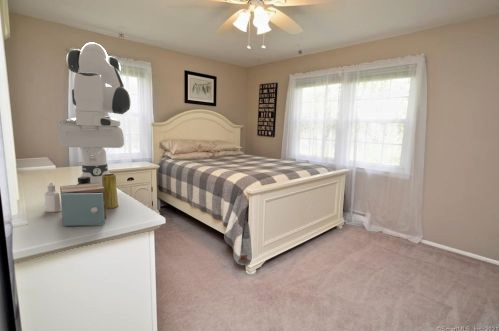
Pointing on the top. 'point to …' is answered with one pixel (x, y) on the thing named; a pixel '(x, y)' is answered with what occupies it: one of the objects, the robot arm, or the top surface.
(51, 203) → the eye dropper bottle
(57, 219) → the top surface
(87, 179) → the supplement bottle
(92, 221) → the door
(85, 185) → the cabinet box
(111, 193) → the vase
